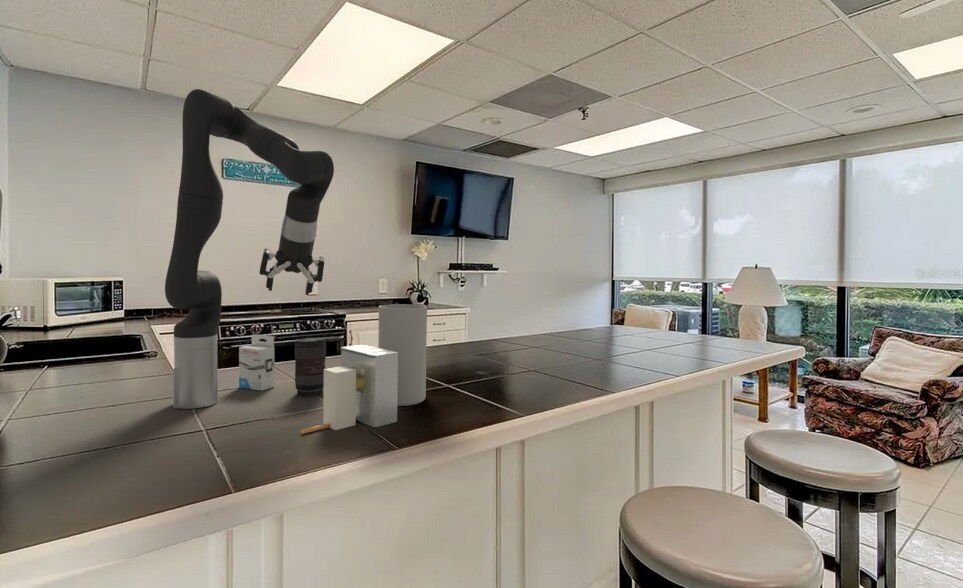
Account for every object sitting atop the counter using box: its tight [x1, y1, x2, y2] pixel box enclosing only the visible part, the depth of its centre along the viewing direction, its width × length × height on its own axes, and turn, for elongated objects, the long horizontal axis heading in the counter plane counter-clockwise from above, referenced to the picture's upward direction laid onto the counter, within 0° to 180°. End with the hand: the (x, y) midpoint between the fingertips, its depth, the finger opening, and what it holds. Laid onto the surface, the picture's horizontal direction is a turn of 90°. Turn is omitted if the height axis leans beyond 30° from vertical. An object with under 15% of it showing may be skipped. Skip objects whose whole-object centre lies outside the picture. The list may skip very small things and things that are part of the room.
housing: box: [339, 344, 398, 428], centre depth 111 cm, size 7×14×16 cm, turn 47°
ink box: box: [238, 334, 275, 392], centre depth 136 cm, size 9×5×15 cm, turn 71°
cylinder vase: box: [377, 303, 428, 407], centre depth 126 cm, size 12×12×25 cm
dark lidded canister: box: [294, 337, 327, 397], centre depth 131 cm, size 8×8×15 cm
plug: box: [300, 365, 364, 435], centre depth 107 cm, size 22×5×12 cm, turn 137°
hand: (288, 291), depth 119 cm, fingers open, 8 cm apart
